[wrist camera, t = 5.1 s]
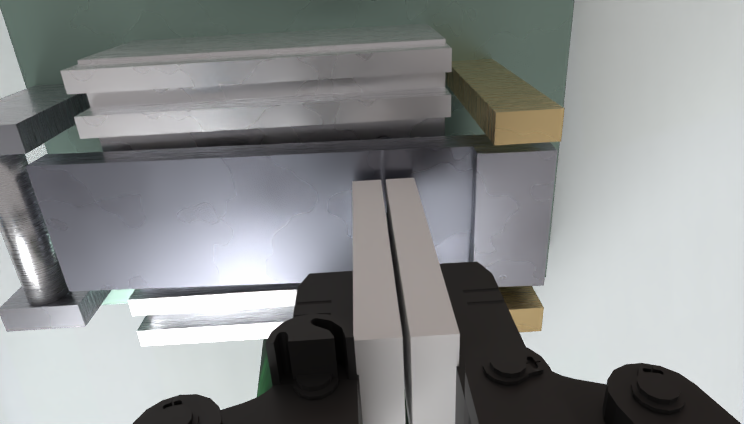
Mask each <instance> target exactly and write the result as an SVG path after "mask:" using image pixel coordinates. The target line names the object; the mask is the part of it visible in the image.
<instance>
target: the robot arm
mask: <svg viewBox="0 0 744 424" xmlns="http://www.w3.org/2000/svg"><path fill="white" fill-rule="evenodd" d="M386 202H387V220H386V213H385V206H384V198H383V191H382V184H381V180H366V181H352V206H353V271H341V272H325V273H309V274H308V276H307V277H306V278H305V279H304V280H303V281H302V283H301V284H300V285H299V286H298V288H297V294H296V300H295V306H294V312H293V318H292V319H290V320H287V321H285V322H283V323H281V324H280V325H279V326H278V327H276V328H275V329H274V330H273V331H272V332H271V333H270V335H269V337H268V339H267V341H266V343H265V344H266V350H267V356H268V362H269V368H270V374H271V380H272V387H271V388H270V389H269V390H268V391H267V392H265V393H263V394H262V395H260V396H258V397H257V398H255V399H252V400H250V401H247V402H245V403H242V404H239V405H236V406H232V407H229V408H226V409H223V410H220V408H219V406H218V405H217V404H216V403H215V402H214V401H212V400H211V399H210V398H207V397H204V396H201V395H197V394H193V395H179V396H175V397H172V398H169V399H166V400H162V401H161V402H159V403H157V404H156V405H154V406H152V407H150V408H149V409H147V410H146V411H145V412H144V413H143V414H142V415H141V416H140V417H139V418H138V419H137V420H136V421H135V422H134V423H133V424H405V397H406V405H407V413H408V421H409V424H741V423H740V422H738V421H737V420H736V419H735V418H734V417H733V416H732V415H730V414H729V413H728V412H727V411H726V410H725V409H723V408H722V407H721V406H720V405H719V404H718V403H716V402H715V401H714V400H713V399H712V398H711V397H709V396H708V395H707V394H706V393H705V392H704V391H702V390H701V389H700V388H699V387H698V386H697V385H695V384H694V383H693V382H691V381H690V380H688V379H687V378H685V377H684V376H682V375H681V374H679V373H677V372H674V371H671V370H669V369H666V368H664V367H661V366H656V365H650V364H644V363H638V364H626V365H624V366H622V367H619V368H617V369H615V370H614V371H613V372H612V374H611V375H610V377H609V378H608V380H607V385H606V384H600V383H594V382H589V381H583V380H577V379H573V378H569V377H565V376H562V375H559V374H557V373H554V372H552V371H551V369H550V367H549V366H548V364H547V363H546V362H545V360H544V359H543V358H542V357H541V356H540V355H538V354H537V353H535V352H534V351H532V350H531V349H529V348H526V346H525V344H524V342H523V340H522V338H521V335H520V333H519V331H518V329H517V327H516V324H515V322H514V320H513V318H512V316H511V313H510V311H509V309H508V307H507V305H506V303H505V302H504V298H503V296H502V294H501V291H499V287H498V285H497V283H496V280H495V278H494V276H493V274H492V273H491V272H490V271H489V270H487V269H486V268H485V267H484V266H482V265H481V264H480V263H478V262H477V261H476V262H460V263H444V264H439V261H438V258H437V254H436V251H435V247H434V244H433V241H432V237H431V234H430V230H429V227H428V223H427V220H426V217H425V213H424V210H423V206H422V203H421V200H420V196H419V193H418V189H417V186H416V183H415V179H414V178H400V179H386ZM387 226H388V227H387ZM404 389H405V394H404Z"/></svg>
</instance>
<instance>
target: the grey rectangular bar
mask: <svg viewBox="0 0 744 424" xmlns="http://www.w3.org/2000/svg"><path fill="white" fill-rule="evenodd" d="M557 151H558V150H557V149H556V148H555V147H554V146H553V145H552V144H551V143H550V142H543V143H526V144H510V145H494V144H493V143H492V142H491V141H490V139H489V138H488V137H487V135H486V134H482V135H460V136H438V137H416V138H394V139H372V140H350V141H328V142H306V143H284V144H262V145H240V146H217V147H195V148H173V149H151V150H129V151H107V152H85V153H63V154H46V155H44V156H43V157H41V158H39V159H37V160H36V161H34V162H32V163H31V164H29V165H27V166H25V167H26V170H27V172H28V175H29V178H30V181H31V184H32V187H33V190H34V193H35V195H36V198H37V201H38V204H39V207H40V210H41V213H42V215H43V218H44V221H45V224H46V227H47V230H48V233H49V236H50V238H51V241H52V244H53V247H54V250H55V253H56V256H57V259H58V261H59V264H60V267H61V270H62V273H63V276H64V279H65V282H66V284H67V287H68V290H69V291H93V290H120V289H147V288H174V287H201V286H228V285H255V284H282V283H302V281H303V280H304V279H305V278H306V277H307V276H308V274H309V273H325V272H341V271H353V206H352V181H366V180H381V184H382V191H383V198H384V206H385V213H386V220H387V202H386V179H400V178H414V179H415V183H416V186H417V189H418V193H419V196H420V200H421V203H422V206H423V210H424V213H425V217H426V220H427V223H428V227H429V230H430V234H431V237H432V241H433V244H434V247H435V251H436V254H437V258H438V261H439V264H444V263H460V262H476V261H477V262H478V263H480V264H481V265H482V266H484V267H485V268H486V269H487V270H489V271H490V272H491V273H492V274H493V276H494V278H495V280H496V283H497V285H498V287H511V286H538V285H544V278H545V268H546V259H547V249H548V239H549V229H550V219H551V210H552V200H553V190H554V180H555V171H556V161H557ZM387 227H388V226H387Z"/></svg>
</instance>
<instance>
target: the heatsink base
mask: <svg viewBox="0 0 744 424" xmlns="http://www.w3.org/2000/svg"><path fill="white" fill-rule="evenodd" d="M573 7H574V0H0V8H1V11H2V14H3V17H4V20H5V23H6V26H7V29H8V33H9V36H10V39H11V42H12V45H13V48H14V51H15V54H16V57H17V60H18V63H19V66H20V69H21V72H22V76H23V79H24V82H25V85H26V88H27V89H24V90H22V91H19V92H17V93H14V94H12V95H9V96H7V97H4V98H1V99H0V231H1V234H2V237H3V239H4V242H5V244H6V247H7V249H8V252H9V254H10V257H11V260H12V262H13V265H14V267H15V270H16V272H17V275H18V278H19V280H20V283H21V285H22V287H21V288H20V289H19V290H18V291H17V292H16V293H14V294H13V295H12V296H11V297H10V298H9V299H8V300H7V301H6V302H5V303H4V304H3V305H2V306H1V307H0V316H1V319H2V321H3V323H4V326H5V328H6V330H7V331H21V330H37V329H53V328H69V327H84V326H86V325H87V323H88V322H89V321H90V319H91V318H92V317H93V315H94V314H95V312H96V311H97V310H98V308H99V307H100V306H101V305H109V304H125V303H129V306H130V310H131V313H132V316H140V315H146V317H145V318H144V320H143V322H142V324H141V325H140V327H139V329H138V330H137V333H138V337H139V340H140V343H141V346H154V345H170V344H186V343H201V342H217V341H233V340H248V339H264V338H268V337H269V335H270V333H271V332H272V331H273V330H274V329H275V328H276V327H278V326H279V325H280V324H281V323H283V322H285V321H287V320H290V319H292V318H293V312H294V306H295V300H296V294H297V288H298V286H299V285H300V284H301V283H282V284H255V285H228V286H201V287H174V288H147V289H120V290H93V291H69V290H68V287H67V284H66V282H65V279H64V276H63V273H62V270H61V267H60V264H59V261H58V259H57V256H56V253H55V250H54V247H53V244H52V241H51V238H50V236H49V233H48V230H47V227H46V224H45V221H44V218H43V215H42V213H41V210H40V207H39V204H38V201H37V198H36V195H35V193H34V190H33V187H32V184H31V181H30V178H29V175H28V172H27V170H26V167H25V166H27V165H28V162H27V159H26V156H25V154H26V153H28V152H30V151H31V150H33V149H35V148H36V147H38V146H40V145H41V144H43V143H45V146H46V149H47V152H48V154H63V153H85V152H107V151H129V150H151V149H173V148H195V147H217V146H240V145H262V144H284V143H306V142H328V141H350V140H372V139H394V138H416V137H438V136H460V135H482V134H486V135H487V137H488V138H489V139H490V141H491V142H492V143H493V144H494V145H510V144H526V143H543V142H550V143H551V144H552V145H553V146H554V147H555V148H556V149H557V150H558V151H557V161H556V171H555V180H554V190H553V200H552V210H551V219H550V229H549V239H548V249H549V240H550V230H551V220H552V211H553V201H554V191H555V182H556V172H557V162H558V153H559V143H560V141H561V137H562V127H563V117H564V108H563V104H564V95H565V85H566V75H567V66H568V56H569V46H570V36H571V27H572V17H573ZM548 249H547V259H548ZM547 259H546V268H545V277H546V269H547ZM499 291H501V294H502V296H503V298H504V302H505V303H506V305H507V307H508V309H509V311H510V313H511V316H512V318H513V320H514V322H515V324H516V327H517V329H518V331H519V332H532V331H541V328H542V319H543V309H544V307H543V306H542V304H541V302H540V300H539V298H538V297H537V295H536V293H535V291H534V289H533V288H532V286H511V287H499Z"/></svg>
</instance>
